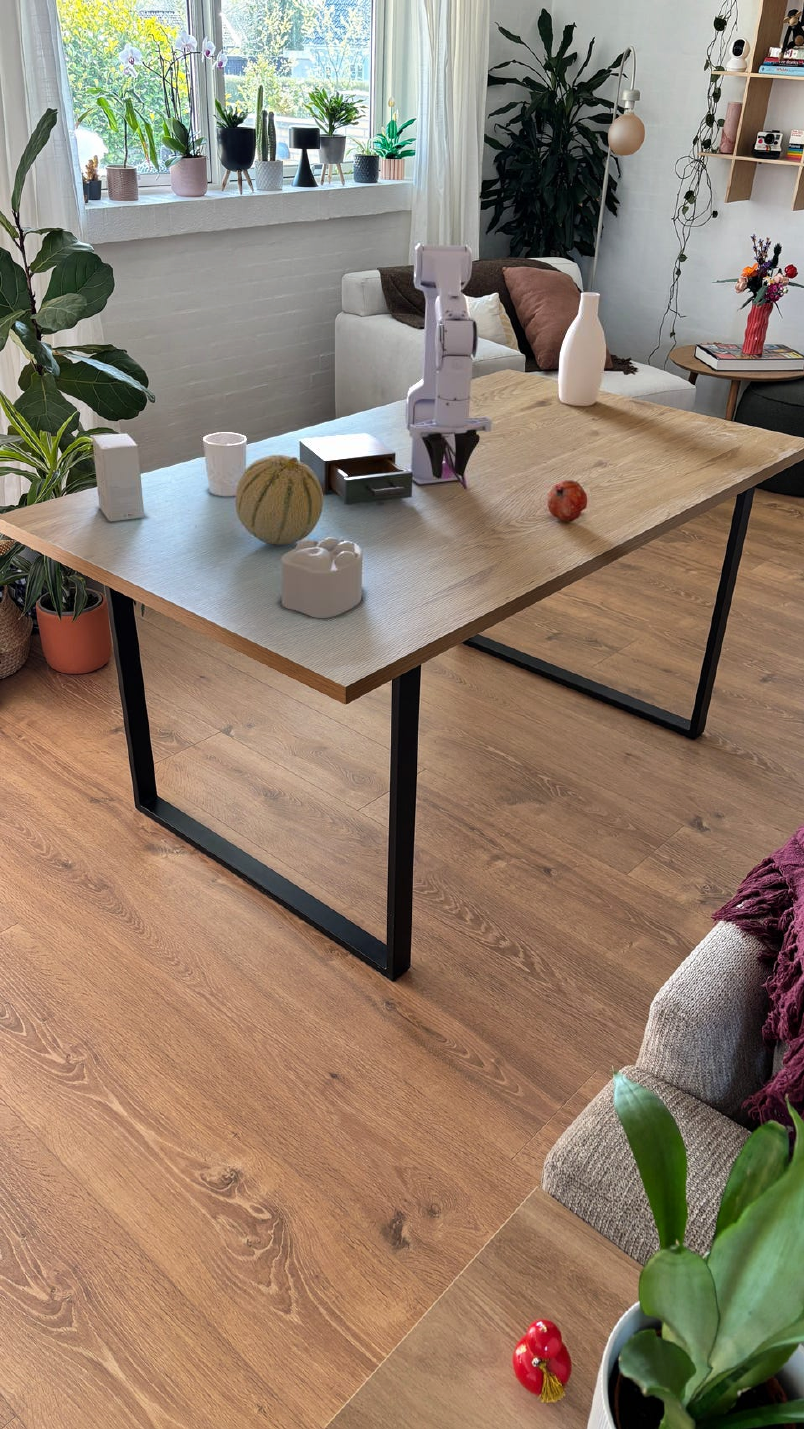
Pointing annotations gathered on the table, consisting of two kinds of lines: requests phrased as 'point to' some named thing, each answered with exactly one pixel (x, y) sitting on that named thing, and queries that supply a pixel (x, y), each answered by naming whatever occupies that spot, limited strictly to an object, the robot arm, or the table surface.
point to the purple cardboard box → (450, 465)
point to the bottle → (583, 355)
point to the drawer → (370, 481)
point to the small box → (118, 476)
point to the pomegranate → (567, 500)
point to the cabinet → (340, 453)
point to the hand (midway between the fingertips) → (447, 475)
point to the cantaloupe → (279, 499)
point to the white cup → (224, 462)
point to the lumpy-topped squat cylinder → (322, 577)
